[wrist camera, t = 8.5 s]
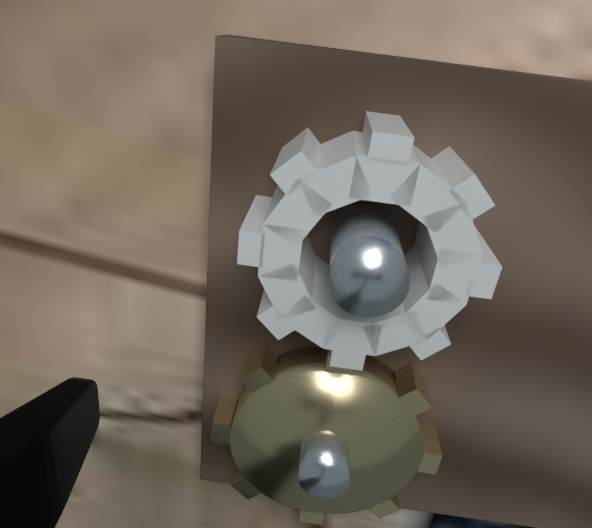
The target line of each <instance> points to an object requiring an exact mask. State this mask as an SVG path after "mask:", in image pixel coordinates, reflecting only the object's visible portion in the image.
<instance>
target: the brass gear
mask: <svg viewBox="0 0 592 528" xmlns="http://www.w3.org/2000/svg"><path fill="white" fill-rule="evenodd" d="M329 362H330V350H329V349H323V348H321V347H320V346H314V347H306V348H300V349H296V350H292V351H288V352H286V353H283V354H281V355H279V354H278V353H277V352H276V351H275V350H274V349H273V348H272V347H271V346H270V345H269V344H268V343H267V342H266V343H264V344H262V345H261V346H259V347H258V348H256V349H255V350H253V351H251V352H250V353H248V354H247V355H246V359H245V362H244V366H243V370H242V373H241V377H240V381H241V382H242V383H243V384H244V386H243V388H242V390H241V393H240V396H239V399H238V398H236V397H228V396H220V399H219V402H218V405H217V408H216V411H215V415H214V418H213V421H212V431H211V442H212V443H219V444H226V445H229V444H230V447H231V452H232V456H233V458H234V461H235V463H236V467H235V472H234V476H233V480H232V486H233V487H234V488H235V489H236V490H238V491H239V492H240V493H241V494H242V495H243V496H244V497H246V498H247V499H250V498H252V497H254V496H256V495H258V494H260V493H263V494H264V495H266V496H268V497H269V498H271V499H273V500H275V501H277V502H279V503H281V504H284V505H286V506H289V507H292V508H296V509H299V521H298V522H304V523H311V524H318V525H323V520H324V515H325V513H331V514H336V513H348V512H354V511H359V510H363V509H367V508H369V509H370V510H371V511H372V512H373V513H374V514H375V515H376V516H377V517H378V518H381V517H384V516H386V515H388V514H390V513H393V512H395V511H397V510H400V505H399V498H398V493H399V492H400V491H401V490H402V489H403V488H404V487H406V485H407V484H408V483H409V482H410V481H411V480H412V478H413V477H414V475H415V473H416V472H422V473H429V474H436V473H437V470H438V467H439V464H440V461H441V459H442V452H441V448H440V443H439V439H438V435H437V431H436V427H435V426H434V425H427V424H420V423H419V420H418V414H420V413H422V412H424V411H426V410H428V409H430V408H432V405H431V401H430V397H429V393H428V389H427V385H426V381H425V379H424V377H423V376H422V375H421V374H420V373H419V371H418V370H417V369H416V368H415V367H414V365H413V364H412V363H411V362H409V363H407V364H405V365H404V366H402V367H400V368H398V369H396V370H395V372H394V371H393V370H392V369H391V368H389V367H388V366H387V365H385V364H384V363H382V362H380V361H379V360H377V359H375V358H373V357H371V356H369V355H366V357H365V361H364V366H363V370H362V371H360V370H353V369H346V368H339V367H332V366H329Z"/></svg>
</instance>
